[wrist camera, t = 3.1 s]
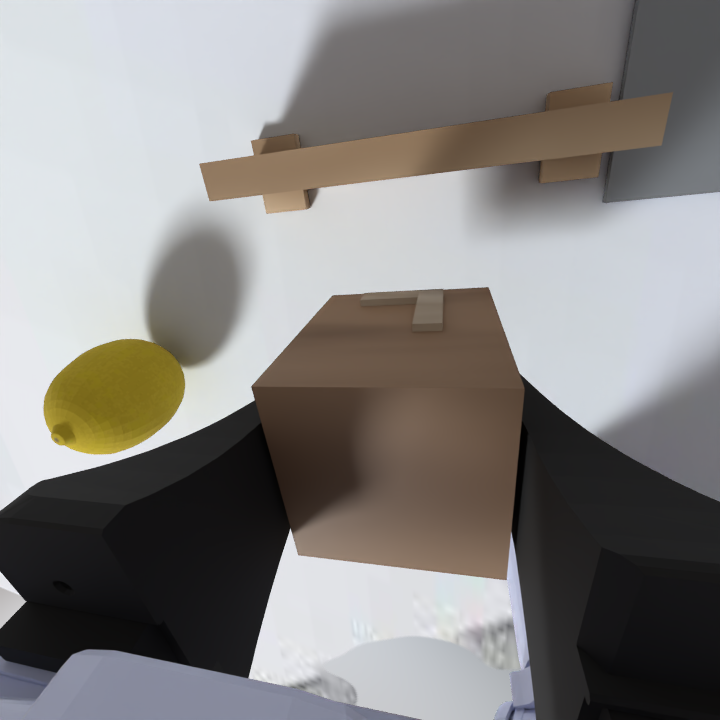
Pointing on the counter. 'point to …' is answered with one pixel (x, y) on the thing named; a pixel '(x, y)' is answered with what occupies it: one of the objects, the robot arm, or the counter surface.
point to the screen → (449, 149)
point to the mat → (672, 101)
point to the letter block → (398, 431)
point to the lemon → (114, 396)
